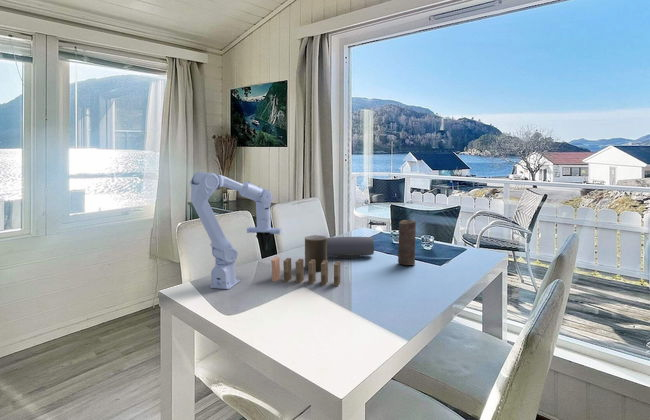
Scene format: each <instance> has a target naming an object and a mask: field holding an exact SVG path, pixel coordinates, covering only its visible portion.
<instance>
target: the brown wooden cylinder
mask: <svg viewBox="0 0 650 420" xmlns="http://www.w3.org/2000/svg"><path fill="white" fill-rule="evenodd" d="M416 223H417V221H416V220H413V219H408V220H407V219H405V220H404V219H402V220H400V221H399V223H398V226H399V227H398V248H397V251H398V252H397V253H398V254H397V256H398V257H397V263H398V264H400V265H403V266H410V265H412V266H414V265H416V228H417V225H416Z"/></svg>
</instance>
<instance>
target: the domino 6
mask: <svg viewBox="0 0 650 420" xmlns="http://www.w3.org/2000/svg"><path fill="white" fill-rule="evenodd" d="M340 284H341V261H340V260H336V261H335V262H334V264H333V287H339V286H340ZM338 285H339V286H338Z"/></svg>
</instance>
